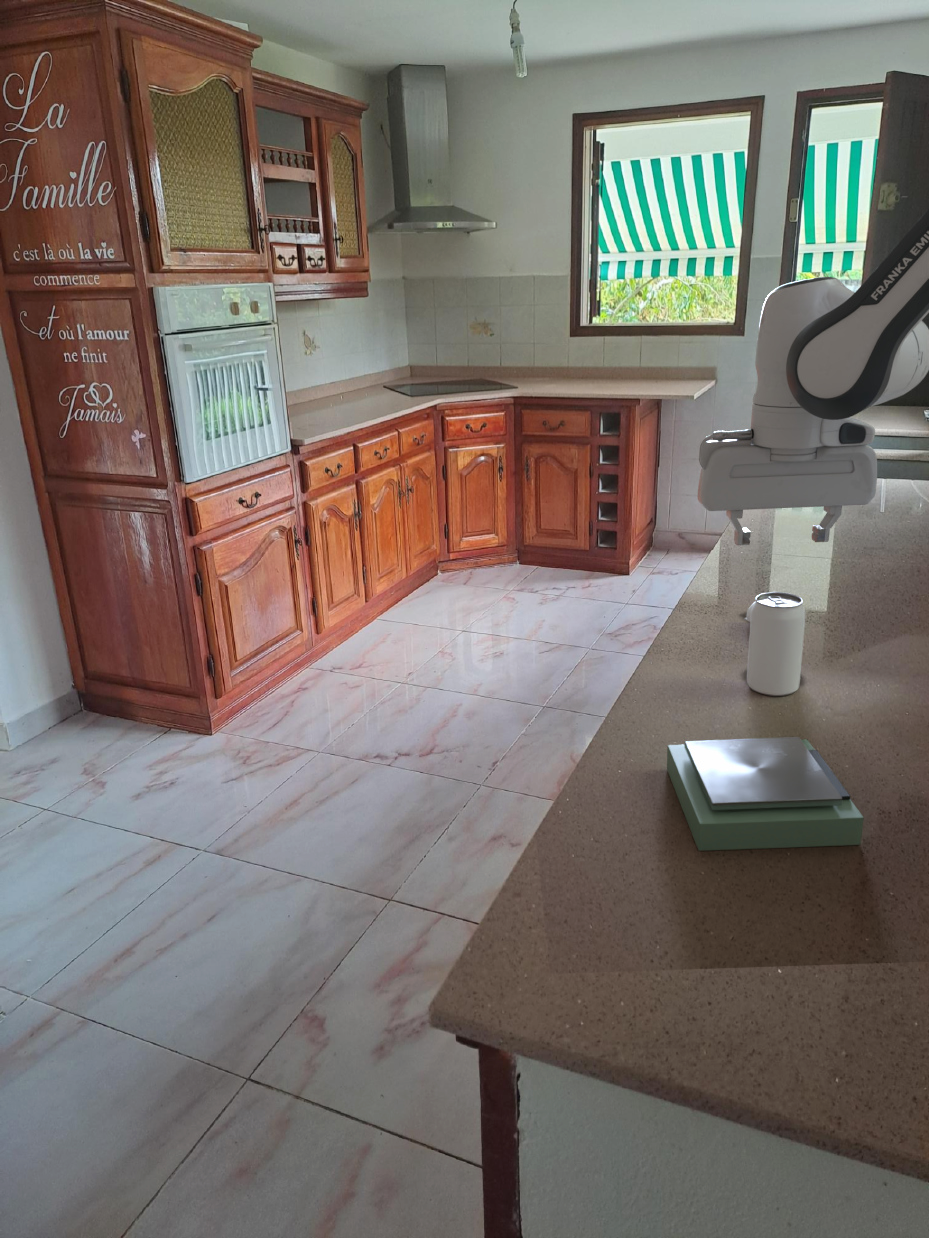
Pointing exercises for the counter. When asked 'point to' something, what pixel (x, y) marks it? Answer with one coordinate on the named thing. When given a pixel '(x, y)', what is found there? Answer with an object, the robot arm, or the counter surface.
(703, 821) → the scale
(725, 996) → the counter surface
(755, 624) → the can
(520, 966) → the counter surface
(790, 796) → the scale pan
